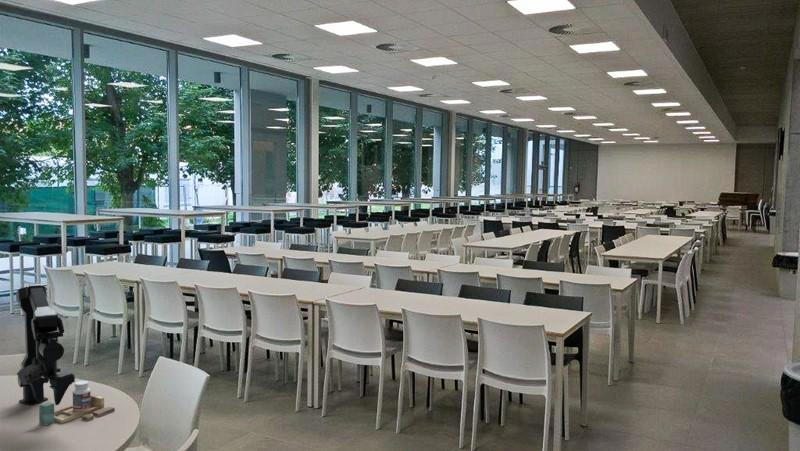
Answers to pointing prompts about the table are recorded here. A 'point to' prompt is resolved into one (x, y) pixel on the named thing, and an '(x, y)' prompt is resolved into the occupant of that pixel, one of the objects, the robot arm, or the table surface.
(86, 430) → the table surface
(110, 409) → the broken walnut strip
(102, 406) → the wooden frame with block
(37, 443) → the table surface
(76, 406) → the pill bottle
